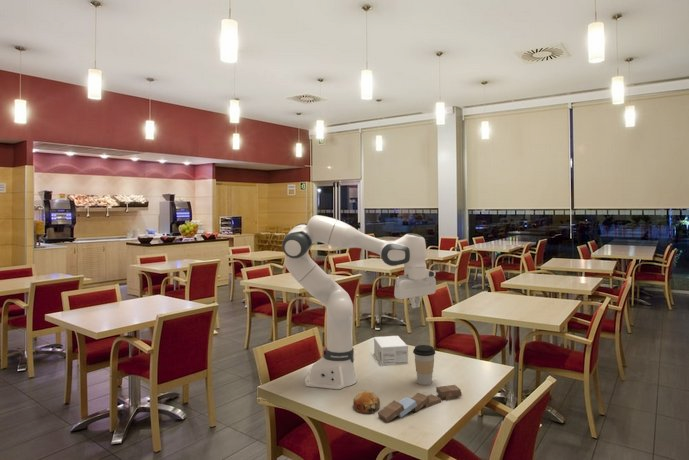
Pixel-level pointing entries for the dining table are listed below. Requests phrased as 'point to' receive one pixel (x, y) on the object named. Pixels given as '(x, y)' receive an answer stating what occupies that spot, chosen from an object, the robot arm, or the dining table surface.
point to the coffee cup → (424, 363)
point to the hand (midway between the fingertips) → (415, 307)
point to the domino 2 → (407, 406)
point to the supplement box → (390, 350)
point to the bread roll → (366, 402)
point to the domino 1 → (390, 411)
